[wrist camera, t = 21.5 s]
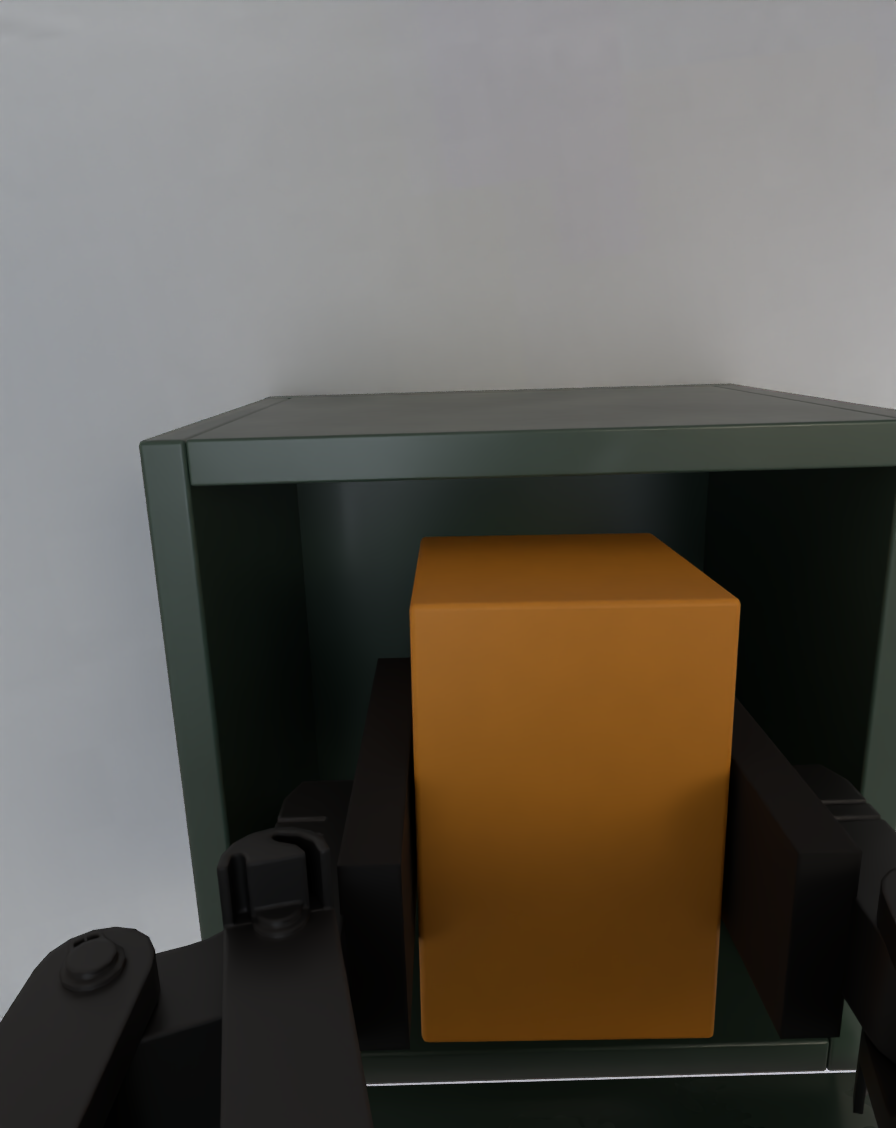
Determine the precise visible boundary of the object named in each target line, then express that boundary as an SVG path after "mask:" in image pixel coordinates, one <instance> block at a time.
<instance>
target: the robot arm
mask: <svg viewBox="0 0 896 1128" xmlns="http://www.w3.org/2000/svg"><path fill="white" fill-rule="evenodd" d="M217 877H218V885H219V894H220V902H221V911H222V919H223V927H224V930H223V931H221V932H219V933H217V934H215V935H213V936H211V937H210V938H208V939H205V940H203V941H200V942H197V943H194V944H191V945H188V946H184V947H180V948H176V949H172V950H168V951H164V952H161V953H157V954H155V949H154V947H153V945H152V942H151V940H150V938H149V937H148V936H146V935H145V934H143V933H141V932H139V931H138V930H136V929H130V928H122V927H111V928H104V929H98V930H92V931H90V932H87V933H85V934H82V935H80V936H77V937H74V938H72V939H70V940H68V941H66V942H65V943H63V944H62V945H60V946H59V947H57V948H56V949H54V950H53V951H51V952H50V953H49V954H48V955H47V956H46V957H45V958H44V959H43V960H42V961H41V963H40V964H39V965H38V966H37V967H36V968H35V969H34V971H33V972H32V974H31V976H30V977H29V979H28V980H27V982H26V983H25V985H24V986H23V988H22V990H21V991H20V993H19V994H18V996H17V997H16V999H15V1000H14V1002H13V1004H12V1005H11V1007H10V1008H9V1010H8V1011H7V1013H6V1014H5V1016H4V1017H3V1019H2V1021H1V1022H0V1128H374V1126H373V1120H372V1115H371V1109H370V1103H369V1098H368V1092H367V1087H366V1081H365V1076H364V1070H363V1064H362V1059H361V1053H360V1051H377V1050H410V1031H411V1009H412V986H413V964H414V941H415V919H416V896H417V858H416V823H415V788H414V753H413V718H412V684H411V657H407V658H378V661H377V666H376V671H375V676H374V681H373V686H372V691H371V696H370V701H369V706H368V711H367V716H366V721H365V727H364V732H363V737H362V742H361V747H360V752H359V757H358V762H357V767H356V772H355V777H354V780H323V781H303V782H301V783H300V784H299V785H298V786H297V787H296V788H295V789H294V790H293V791H292V792H291V793H290V794H289V795H288V796H287V797H286V798H285V799H284V801H283V804H282V807H281V810H280V813H279V816H278V821H277V823H276V825H275V827H274V828H269V829H266V830H262V831H258V832H255V833H251V834H249V835H247V836H245V837H244V838H242V839H240V840H238V841H236V842H234V843H233V844H232V845H231V846H230V847H229V848H228V849H227V850H226V851H225V852H224V853H223V854H222V855H221V857H220V860H219V863H218V866H217ZM721 917H722V919H723V922H724V924H725V926H726V928H727V930H728V932H729V934H730V936H731V938H732V940H733V942H734V944H735V946H736V948H737V950H738V953H739V955H740V957H741V959H742V961H743V963H744V965H745V967H746V969H747V971H748V973H749V975H750V977H751V979H752V981H753V984H754V986H755V988H756V990H757V992H758V994H759V996H760V998H761V1000H762V1002H763V1004H764V1006H765V1008H766V1010H767V1013H768V1015H769V1017H770V1019H771V1021H772V1023H773V1025H774V1027H775V1029H776V1031H777V1033H778V1035H779V1037H780V1039H799V1038H835V1037H840V1031H841V1022H842V1014H843V1006H844V999H845V1000H846V1002H847V1003H848V1005H849V1007H850V1008H851V1010H852V1012H853V1013H854V1015H855V1017H856V1018H857V1020H858V1021H859V1023H860V1025H861V1026H862V1030H861V1038H860V1046H859V1053H858V1061H857V1069H856V1076H855V1084H854V1091H853V1113H858V1114H863V1110H864V1103H865V1097H866V1096H867V1095H868V1094H869V1098H870V1101H871V1105H872V1108H873V1112H874V1115H875V1119H876V1122H877V1126H878V1128H896V831H895V830H894V829H893V828H892V827H891V826H890V825H889V824H888V823H887V822H886V821H885V819H881V815H880V814H879V813H878V812H877V811H876V810H875V809H874V808H873V806H872V805H871V804H870V803H867V802H866V799H865V798H864V797H863V796H862V794H861V793H860V792H859V791H858V790H857V789H856V788H855V787H854V786H853V785H852V784H851V783H850V781H849V780H847V779H845V778H844V777H842V776H840V775H838V774H837V773H835V772H833V771H831V770H830V769H828V768H826V767H825V766H823V765H821V764H808V765H791V764H790V762H789V761H788V760H787V759H786V757H785V756H784V755H783V754H782V753H781V751H780V750H779V749H778V748H777V747H776V745H775V744H774V743H773V742H772V740H771V739H770V738H769V737H768V736H767V734H766V733H765V732H764V731H763V729H762V728H761V727H760V726H759V725H758V723H757V722H756V721H755V720H754V719H753V717H752V716H751V715H750V714H749V712H748V711H747V710H746V709H745V708H744V706H743V705H742V704H741V703H740V701H739V700H738V699H737V698H736V697H735V701H734V717H733V733H732V749H731V764H730V780H729V796H728V812H727V828H726V844H725V860H724V876H723V891H722V907H721Z"/></svg>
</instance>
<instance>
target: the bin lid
mask: <svg viewBox="0 0 896 1128" xmlns="http://www.w3.org/2000/svg"><path fill="white" fill-rule="evenodd" d="M855 1076H856V1072H850V1073H815V1074H780V1075H745V1076H710V1077H675V1078H641V1079H606V1080H571V1081H536V1082H501V1083H466V1084H431V1085H396V1086H366V1087H367V1092H368V1098H369V1103H370V1109H371V1115H372V1120H373V1126H374V1128H878V1126H877V1122H876V1119H875V1115H874V1112H873V1108H872V1105H871V1101H870V1098H869V1094H868V1095H867V1096H866V1097H865V1103H864V1110H863V1114H858V1113H853V1091H854V1084H855Z"/></svg>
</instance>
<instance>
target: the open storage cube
mask: <svg viewBox="0 0 896 1128" xmlns="http://www.w3.org/2000/svg"><path fill="white" fill-rule="evenodd" d="M139 449H140V457H141V465H142V473H143V481H144V489H145V496H146V504H147V512H148V520H149V528H150V536H151V544H152V552H153V560H154V567H155V575H156V583H157V591H158V599H159V607H160V615H161V623H162V631H163V639H164V646H165V654H166V662H167V670H168V678H169V686H170V694H171V702H172V710H173V717H174V725H175V733H176V741H177V749H178V757H179V765H180V773H181V781H182V788H183V796H184V804H185V812H186V820H187V828H188V836H189V844H190V852H191V859H192V867H193V875H194V883H195V891H196V899H197V907H198V915H199V923H200V930H201V938H202V941H203V940H205V939H208V938H210V937H211V936H213V935H215V934H217V933H219V932H221V931H223V930H224V927H223V919H222V911H221V902H220V894H219V885H218V877H217V866H218V863H219V860H220V857H221V855H222V854H223V853H224V852H225V851H226V850H227V849H228V848H229V847H230V846H231V845H232V844H233V843H234V842H236V841H238V840H240V839H242V838H244V837H245V836H247V835H249V834H251V833H255V832H258V831H262V830H266V829H269V828H274V827H275V825H276V823H277V821H278V816H279V813H280V810H281V807H282V804H283V801H284V799H285V798H286V797H287V796H288V795H289V794H290V793H291V792H292V791H293V790H294V789H295V788H296V787H297V786H298V785H299V784H300V783H301V782H303V781H323V780H354V777H355V772H356V767H357V762H358V757H359V752H360V747H361V742H362V737H363V732H364V727H365V721H366V716H367V711H368V706H369V701H370V696H371V691H372V686H373V681H374V676H375V671H376V666H377V661H378V658H407V657H411V649H410V614H409V609H410V603H411V597H412V591H413V585H414V579H415V573H416V567H417V561H418V555H419V549H420V543H421V540H422V538H424V537H445V536H503V535H561V534H619V533H650V534H652V535H654V536H655V537H656V538H658V539H659V540H660V541H662V542H663V543H664V544H666V545H667V546H668V547H670V548H671V549H672V550H674V551H675V552H676V553H678V554H679V555H680V556H682V557H683V558H684V559H686V560H687V561H688V562H690V563H691V564H692V565H694V566H695V567H696V568H698V569H699V570H700V571H702V572H703V573H704V574H706V575H707V576H708V577H710V578H711V579H712V580H714V581H715V582H716V583H718V584H719V585H720V586H722V587H723V588H724V589H726V590H727V591H728V592H730V593H731V594H732V595H734V596H735V597H736V598H737V599H739V602H740V604H741V606H740V621H739V637H738V653H737V669H736V685H735V697H736V698H737V699H738V700H739V701H740V703H741V704H742V705H743V706H744V708H745V709H746V710H747V711H748V712H749V714H750V715H751V716H752V717H753V719H754V720H755V721H756V722H757V723H758V725H759V726H760V727H761V728H762V729H763V731H764V732H765V733H766V734H767V736H768V737H769V738H770V739H771V740H772V742H773V743H774V744H775V745H776V747H777V748H778V749H779V750H780V751H781V753H782V754H783V755H784V756H785V757H786V759H787V760H788V761H789V762H790V764H791V765H808V764H821V765H823V766H825V767H826V768H828V769H830V770H831V771H833V772H835V773H837V774H838V775H840V776H842V777H844V778H845V779H847V780H849V781H850V783H851V784H852V785H853V786H854V787H855V788H856V789H857V790H858V791H859V792H860V793H861V794H862V796H863V797H864V798H865V799H866V802H867V803H870V804H871V805H872V806H873V808H874V809H875V810H876V811H877V812H878V813H879V814H880V815H881V819H885V821H886V822H887V823H888V824H889V825H890V826H891V827H892V828H893V829H894V830H895V831H896V410H894V409H888V408H881V407H875V406H869V405H862V404H856V403H850V402H843V401H837V400H830V399H824V398H818V397H811V396H805V395H799V394H792V393H786V392H779V391H773V390H767V389H760V388H754V387H748V386H741V385H735V384H702V385H666V386H631V387H595V388H560V389H524V390H489V391H453V392H418V393H382V394H347V395H311V396H276V397H268V398H265V399H263V400H260V401H257V402H254V403H251V404H248V405H245V406H242V407H239V408H236V409H234V410H231V411H228V412H225V413H222V414H219V415H216V416H213V417H210V418H207V419H204V420H201V421H198V422H196V423H193V424H190V425H187V426H184V427H181V428H178V429H175V430H172V431H169V432H166V433H163V434H160V435H158V436H155V437H152V438H149V439H146V440H143V441H141V442H140V445H139ZM861 1030H862V1026H861V1025H860V1023H859V1021H858V1020H857V1018H856V1017H855V1015H854V1013H853V1012H852V1010H851V1008H850V1007H849V1005H848V1003H847V1002H846V1000H845V999H844V1006H843V1014H842V1022H841V1031H840V1037H835V1038H799V1039H780V1037H779V1035H778V1033H777V1031H776V1029H775V1027H774V1025H773V1023H772V1021H771V1019H770V1017H769V1015H768V1013H767V1010H766V1008H765V1006H764V1004H763V1002H762V1000H761V998H760V996H759V994H758V992H757V990H756V988H755V986H754V984H753V981H752V979H751V977H750V975H749V973H748V971H747V969H746V967H745V965H744V963H743V961H742V959H741V957H740V955H739V953H738V950H737V948H736V946H735V944H734V942H733V940H732V938H731V936H730V934H729V932H728V930H727V928H726V926H725V924H724V922H723V919H722V917H721V923H720V939H719V955H718V971H717V987H716V1003H715V1019H714V1032H713V1036H712V1037H710V1038H681V1039H616V1040H551V1041H487V1042H425V1041H424V1039H423V1037H422V1032H421V997H420V962H419V927H418V893H417V896H416V919H415V941H414V964H413V986H412V1009H411V1031H410V1050H377V1051H360V1053H361V1059H362V1064H363V1070H364V1076H365V1081H366V1084H386V1083H421V1082H456V1081H491V1080H526V1079H561V1078H595V1077H630V1076H665V1075H700V1074H735V1073H770V1072H805V1071H824V1070H826V1068H827V1069H828V1070H830V1071H838V1070H856V1069H857V1061H858V1053H859V1046H860V1038H861Z"/></svg>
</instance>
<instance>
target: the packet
mask: <svg viewBox="0 0 896 1128" xmlns="http://www.w3.org/2000/svg"><path fill="white" fill-rule="evenodd" d="M740 606H741V604H740V602H739V599H737V598H736V597H735V596H734V595H732V594H731V593H730V592H728V591H727V590H726V589H724V588H723V587H722V586H720V585H719V584H718V583H716V582H715V581H714V580H712V579H711V578H710V577H708V576H707V575H706V574H704V573H703V572H702V571H700V570H699V569H698V568H696V567H695V566H694V565H692V564H691V563H690V562H688V561H687V560H686V559H684V558H683V557H682V556H680V555H679V554H678V553H676V552H675V551H674V550H672V549H671V548H670V547H668V546H667V545H666V544H664V543H663V542H662V541H660V540H659V539H658V538H656V537H655V536H654V535H652V534H650V533H619V534H561V535H503V536H445V537H424V538H422V540H421V543H420V549H419V555H418V561H417V567H416V573H415V579H414V585H413V591H412V597H411V603H410V609H409V614H410V649H411V684H412V718H413V753H414V788H415V823H416V858H417V893H418V927H419V962H420V997H421V1032H422V1037H423V1039H424V1041H425V1042H487V1041H551V1040H616V1039H681V1038H710V1037H712V1036H713V1032H714V1019H715V1003H716V987H717V971H718V955H719V939H720V923H721V907H722V891H723V876H724V860H725V844H726V828H727V812H728V796H729V780H730V764H731V749H732V733H733V717H734V701H735V685H736V669H737V653H738V637H739V621H740Z"/></svg>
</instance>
